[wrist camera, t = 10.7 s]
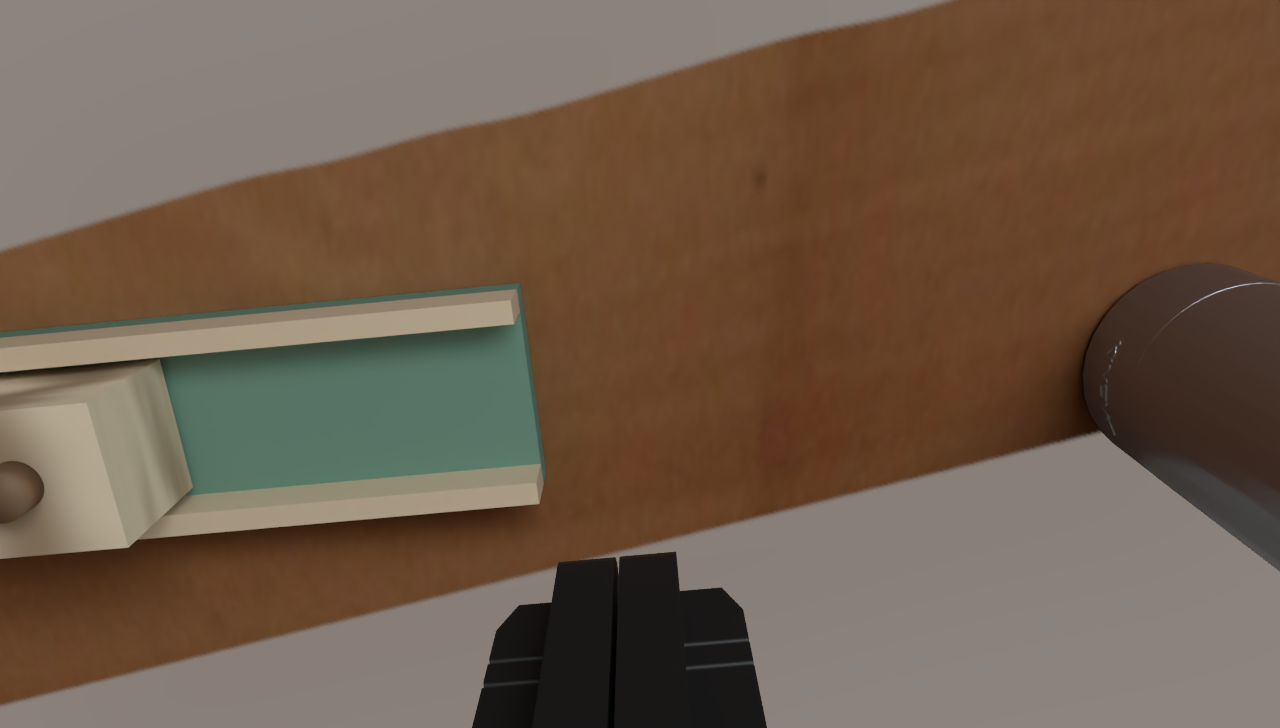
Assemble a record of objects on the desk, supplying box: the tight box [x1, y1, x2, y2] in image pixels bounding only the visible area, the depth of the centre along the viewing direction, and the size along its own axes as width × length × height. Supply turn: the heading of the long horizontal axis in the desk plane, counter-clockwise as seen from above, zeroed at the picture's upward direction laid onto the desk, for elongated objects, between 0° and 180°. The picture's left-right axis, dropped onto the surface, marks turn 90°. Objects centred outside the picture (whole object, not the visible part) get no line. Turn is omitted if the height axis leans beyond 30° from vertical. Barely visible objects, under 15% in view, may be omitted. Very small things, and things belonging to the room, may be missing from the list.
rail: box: [0, 283, 546, 540], centre depth 39 cm, size 24×9×6 cm, turn 95°
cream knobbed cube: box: [0, 359, 193, 559], centre depth 37 cm, size 7×6×7 cm
